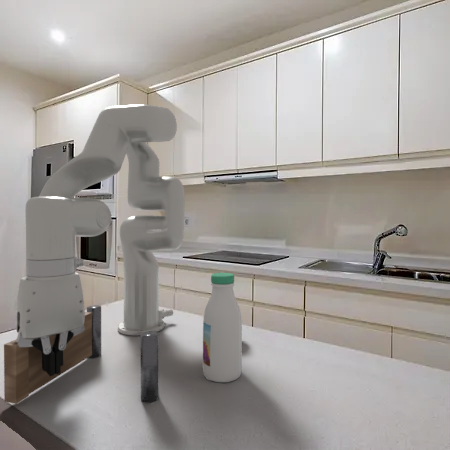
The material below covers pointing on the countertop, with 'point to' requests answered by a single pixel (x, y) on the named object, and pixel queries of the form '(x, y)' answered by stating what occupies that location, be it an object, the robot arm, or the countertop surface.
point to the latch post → (149, 366)
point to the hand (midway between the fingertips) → (52, 372)
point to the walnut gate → (40, 363)
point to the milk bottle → (222, 331)
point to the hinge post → (95, 330)
